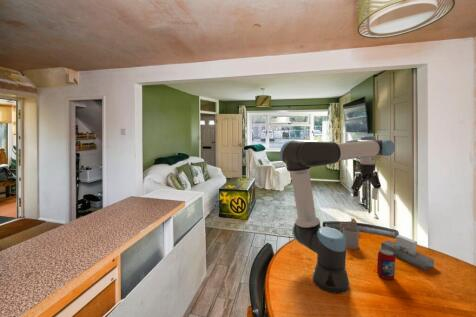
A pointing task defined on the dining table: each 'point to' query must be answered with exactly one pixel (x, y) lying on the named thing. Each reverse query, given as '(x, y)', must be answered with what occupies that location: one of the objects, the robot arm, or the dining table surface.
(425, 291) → the dining table surface
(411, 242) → the upright white panel
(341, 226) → the ruin model on sheet
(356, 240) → the cup
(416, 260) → the block with rectangular holes
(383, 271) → the beverage can
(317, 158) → the robot arm
